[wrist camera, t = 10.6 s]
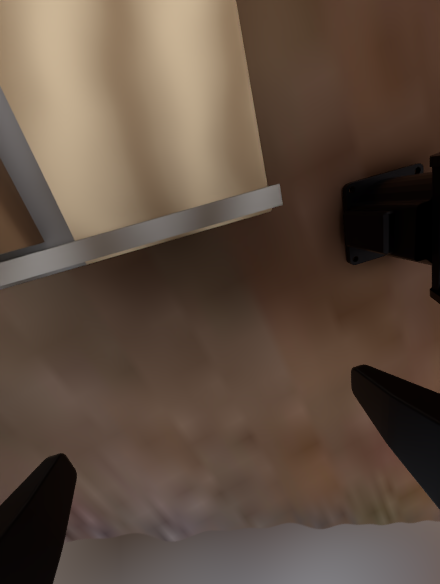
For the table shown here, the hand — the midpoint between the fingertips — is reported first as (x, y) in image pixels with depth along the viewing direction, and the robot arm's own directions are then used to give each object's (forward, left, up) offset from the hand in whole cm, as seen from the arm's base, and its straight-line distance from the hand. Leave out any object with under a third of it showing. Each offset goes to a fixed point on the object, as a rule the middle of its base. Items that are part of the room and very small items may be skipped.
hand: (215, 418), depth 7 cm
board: (+4, -11, -13) cm, 17 cm away
